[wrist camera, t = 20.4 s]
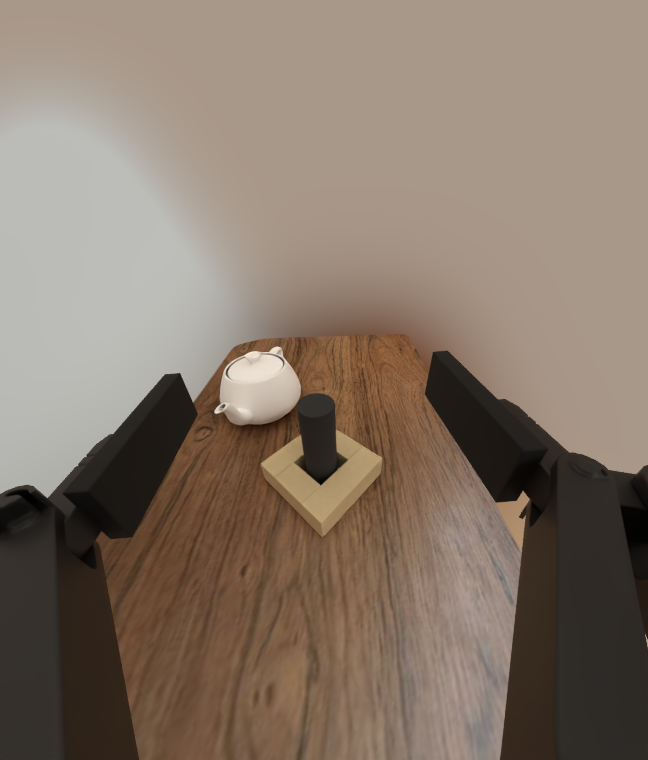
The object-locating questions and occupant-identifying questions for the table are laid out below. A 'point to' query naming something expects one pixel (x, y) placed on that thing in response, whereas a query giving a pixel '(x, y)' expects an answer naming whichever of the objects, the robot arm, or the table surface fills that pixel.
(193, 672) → the table surface
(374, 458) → the base pad
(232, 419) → the teapot
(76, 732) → the robot arm
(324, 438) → the black cylinder peg
